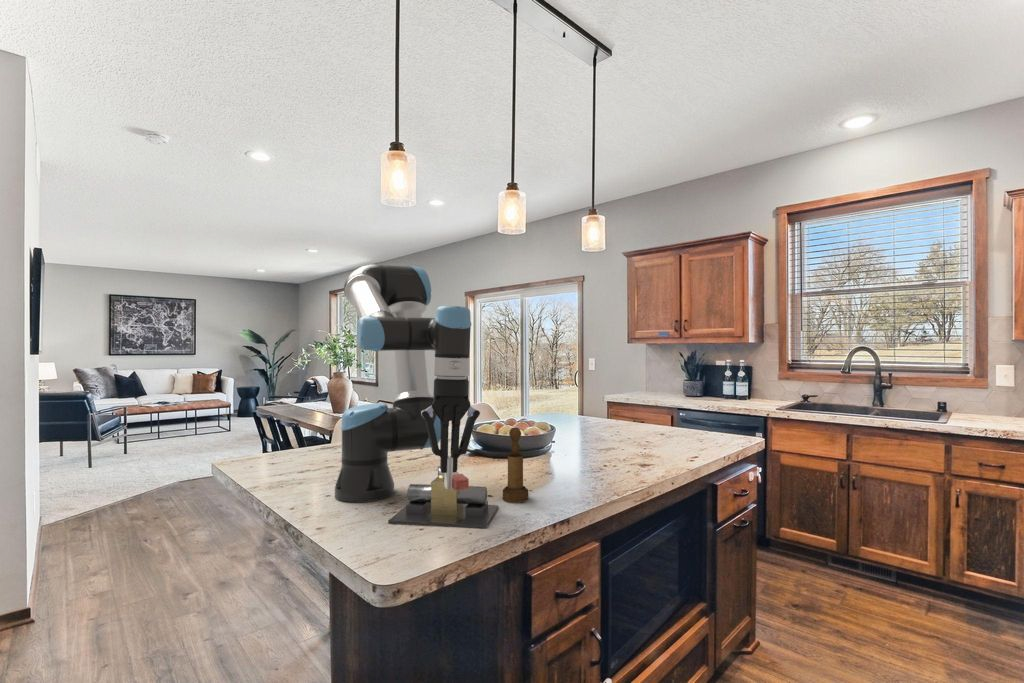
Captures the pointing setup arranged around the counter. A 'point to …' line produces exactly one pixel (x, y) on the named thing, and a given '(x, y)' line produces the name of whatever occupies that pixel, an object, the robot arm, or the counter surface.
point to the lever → (456, 480)
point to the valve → (445, 506)
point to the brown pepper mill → (515, 472)
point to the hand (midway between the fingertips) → (448, 487)
